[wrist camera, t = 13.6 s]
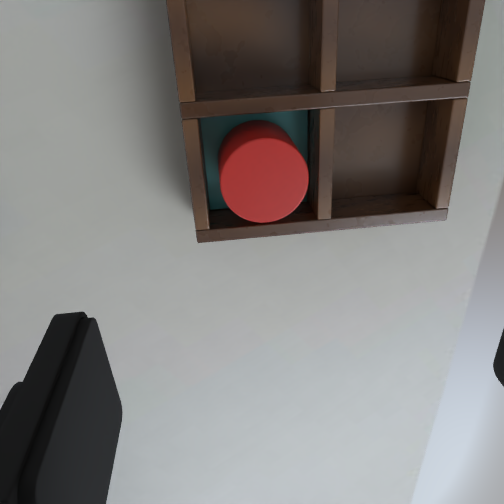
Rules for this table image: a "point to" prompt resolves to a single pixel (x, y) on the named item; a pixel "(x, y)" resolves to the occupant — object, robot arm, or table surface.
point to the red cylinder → (261, 172)
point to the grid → (328, 103)
